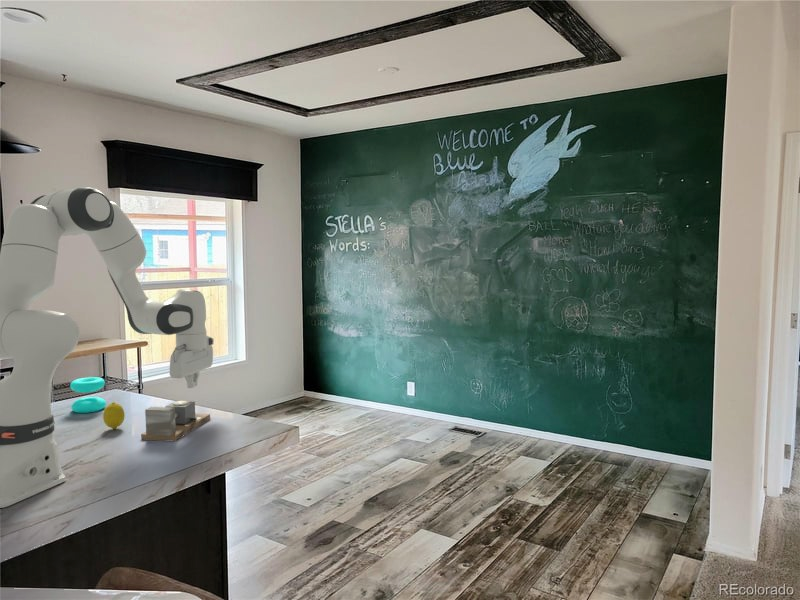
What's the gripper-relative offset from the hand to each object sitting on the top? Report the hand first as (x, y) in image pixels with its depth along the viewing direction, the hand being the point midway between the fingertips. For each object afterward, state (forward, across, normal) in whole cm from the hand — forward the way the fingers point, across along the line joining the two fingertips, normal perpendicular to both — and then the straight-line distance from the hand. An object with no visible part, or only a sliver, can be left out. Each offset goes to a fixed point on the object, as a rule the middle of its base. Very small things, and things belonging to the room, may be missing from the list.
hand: (192, 387), depth 178 cm
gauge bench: (+10, -9, 0) cm, 13 cm away
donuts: (+10, +6, +39) cm, 41 cm away
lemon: (+11, -12, +18) cm, 24 cm away
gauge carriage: (+9, -8, -1) cm, 12 cm away
